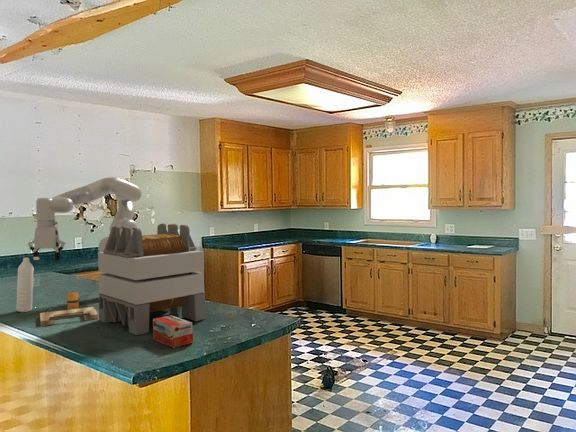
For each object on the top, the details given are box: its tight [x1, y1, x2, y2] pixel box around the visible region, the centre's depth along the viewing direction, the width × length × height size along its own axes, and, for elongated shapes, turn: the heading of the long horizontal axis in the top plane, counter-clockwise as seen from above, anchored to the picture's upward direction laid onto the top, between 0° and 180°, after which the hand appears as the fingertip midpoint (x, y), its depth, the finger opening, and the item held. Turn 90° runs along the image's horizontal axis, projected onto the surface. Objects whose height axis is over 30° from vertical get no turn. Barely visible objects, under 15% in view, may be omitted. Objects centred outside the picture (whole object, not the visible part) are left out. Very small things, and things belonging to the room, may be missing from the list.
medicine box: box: [152, 314, 194, 349], centre depth 172 cm, size 15×8×8 cm, turn 43°
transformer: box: [97, 222, 207, 336], centre depth 203 cm, size 34×33×41 cm
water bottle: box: [15, 256, 40, 313], centre depth 221 cm, size 9×6×25 cm
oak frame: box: [39, 306, 99, 327], centre depth 208 cm, size 22×16×3 cm
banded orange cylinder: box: [66, 291, 80, 310], centre depth 222 cm, size 5×5×8 cm
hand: (47, 260), depth 224 cm, fingers open, 9 cm apart
